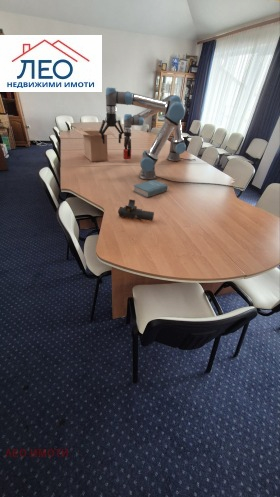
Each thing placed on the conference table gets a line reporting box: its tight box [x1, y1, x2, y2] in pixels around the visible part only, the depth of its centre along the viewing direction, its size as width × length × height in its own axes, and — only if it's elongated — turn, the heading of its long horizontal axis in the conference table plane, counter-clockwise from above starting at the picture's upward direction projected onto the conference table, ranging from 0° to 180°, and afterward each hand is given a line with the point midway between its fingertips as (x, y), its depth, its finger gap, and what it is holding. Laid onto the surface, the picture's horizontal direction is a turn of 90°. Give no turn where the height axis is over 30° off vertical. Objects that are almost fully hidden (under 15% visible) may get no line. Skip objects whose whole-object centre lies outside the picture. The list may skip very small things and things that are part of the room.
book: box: [133, 179, 169, 198], centre depth 177 cm, size 23×16×5 cm
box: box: [74, 128, 115, 162], centre depth 240 cm, size 44×36×27 cm
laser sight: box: [117, 199, 155, 222], centre depth 138 cm, size 10×22×10 cm, turn 78°
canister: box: [123, 148, 132, 160], centre depth 237 cm, size 8×8×9 cm
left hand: (111, 143), depth 179 cm, fingers open, 13 cm apart
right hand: (127, 155), depth 238 cm, fingers closed on canister, 8 cm apart
